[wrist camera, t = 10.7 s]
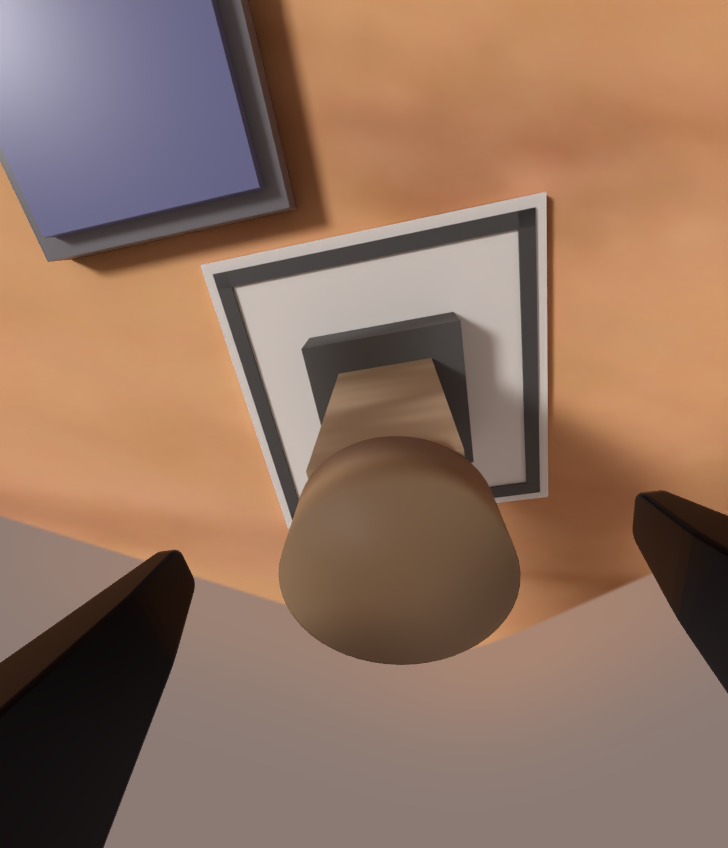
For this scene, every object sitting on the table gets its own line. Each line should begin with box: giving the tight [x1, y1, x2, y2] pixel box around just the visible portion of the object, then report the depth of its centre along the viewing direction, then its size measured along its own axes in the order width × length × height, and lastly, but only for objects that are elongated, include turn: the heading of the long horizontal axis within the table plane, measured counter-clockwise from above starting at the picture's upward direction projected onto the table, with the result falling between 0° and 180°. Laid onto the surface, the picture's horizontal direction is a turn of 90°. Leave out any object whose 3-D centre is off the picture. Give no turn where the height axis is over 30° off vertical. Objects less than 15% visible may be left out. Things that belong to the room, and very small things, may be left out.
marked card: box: [200, 192, 548, 529], centre depth 15 cm, size 11×11×1 cm
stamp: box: [279, 312, 520, 665], centre depth 11 cm, size 5×5×9 cm
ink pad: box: [0, 0, 296, 262], centre depth 11 cm, size 8×11×2 cm
